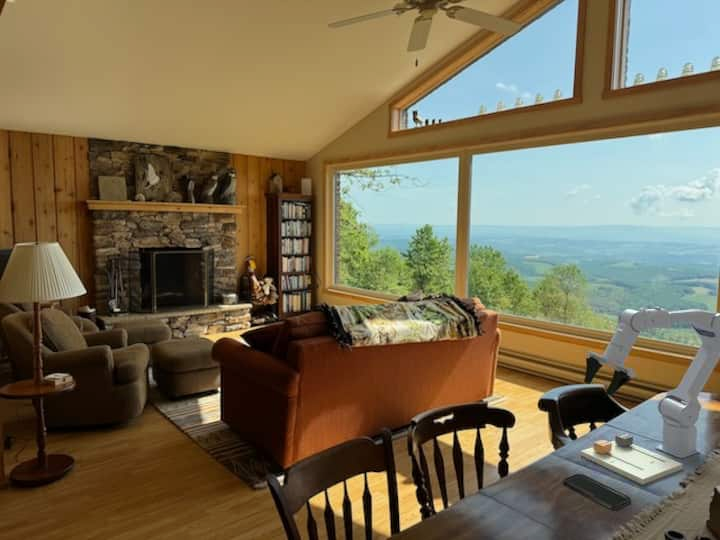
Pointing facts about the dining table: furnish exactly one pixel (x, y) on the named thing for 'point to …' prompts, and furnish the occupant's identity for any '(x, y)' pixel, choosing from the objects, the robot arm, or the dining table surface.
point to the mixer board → (634, 462)
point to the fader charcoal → (624, 439)
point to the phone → (597, 491)
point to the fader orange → (602, 446)
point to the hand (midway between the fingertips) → (597, 388)
